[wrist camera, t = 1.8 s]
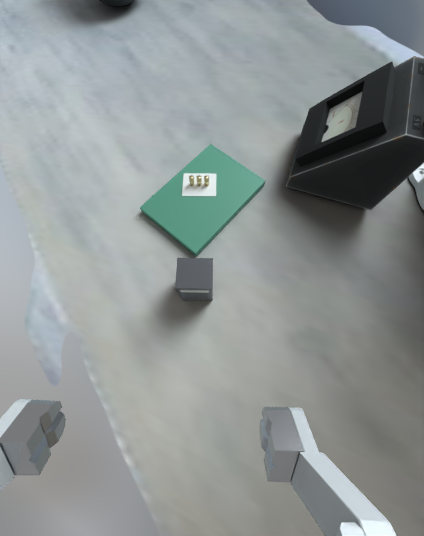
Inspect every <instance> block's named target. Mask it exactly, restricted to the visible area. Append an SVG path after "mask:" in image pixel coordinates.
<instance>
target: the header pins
mask: <svg viewBox="0 0 424 536" xmlns="http://www.w3.org/2000/svg"><path fill="white" fill-rule="evenodd" d="M196 178H197V186H202V179H201V176H200V175H198V176H197V177H196ZM189 182H190V186H194V185H195V184H194V176H193V175H190V176H189ZM204 185H205V186H209V176H207V175H206V176H204Z"/></svg>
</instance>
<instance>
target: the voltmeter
mask: <svg viewBox="0 0 424 536" xmlns="http://www.w3.org/2000/svg"><path fill="white" fill-rule="evenodd" d="M423 163H424V58H421V57H416V56H414V57H412V58H410V59H408V60H407V61H405V62H403V63H401V64H399V65H398V66H396V67H394V66H393V63H392V62H390V63H388V64H386V65H385V66H383V67H381V68H379V69H377V70H376V71H374V72H372V73H370V74H368V75H367V76H365V77H363V78H361V79H360V80H358V81H356V82H354V83H353V84H351V85H349V86H347V87H346V88H344V89H342V90H340V91H339V92H337V93H335V94H333V95H332V96H330V97H328V98H326V99H325V100H323V101H321V102H320V103H318V104H317V105H315V106H313V107H312V108H310V109H309V112H308V115H307V118H306V121H305V123H304V126H303V129H302V133H301V136H300V139H299V143H298V146H297V149H296V153H295V156H294V159H293V163H292V166H291V170H290V173H289V177H288V180H287V183H286V187H290V188H293V189H296V190H300V191H304V192H308V193H311V194H315V195H319V196H322V197H326V198H329V199H333V200H337V201H340V202H344V203H348V204H351V205H355V206H359V207H362V208H366V209H370V210H372V209H373V208H374V207H375V206H376V205H377V204H378V203H379V202H381V201H382V200H383V199H384V198H385V197H386V196H387V195H388V194H390V193H391V192H392V191H393V190H394V189H395V188H396V187H397V186H399V185H400V184H401V183H402V182H403V181H404V180H405V179H406V178H408V177H409V176H410V175H411V174H412V173H413V172H414V171H415V170H416V169H418V168H419V167H420V166H421V165H422V164H423Z"/></svg>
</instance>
